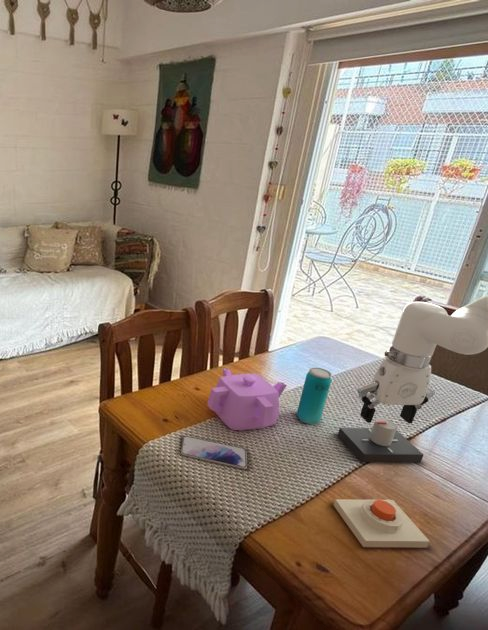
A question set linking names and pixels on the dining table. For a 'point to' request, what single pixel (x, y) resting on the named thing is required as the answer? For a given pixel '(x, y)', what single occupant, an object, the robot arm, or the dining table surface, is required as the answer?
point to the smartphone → (214, 452)
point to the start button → (383, 510)
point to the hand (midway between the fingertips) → (385, 419)
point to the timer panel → (379, 447)
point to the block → (379, 525)
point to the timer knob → (383, 431)
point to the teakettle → (245, 401)
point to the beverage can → (314, 395)
